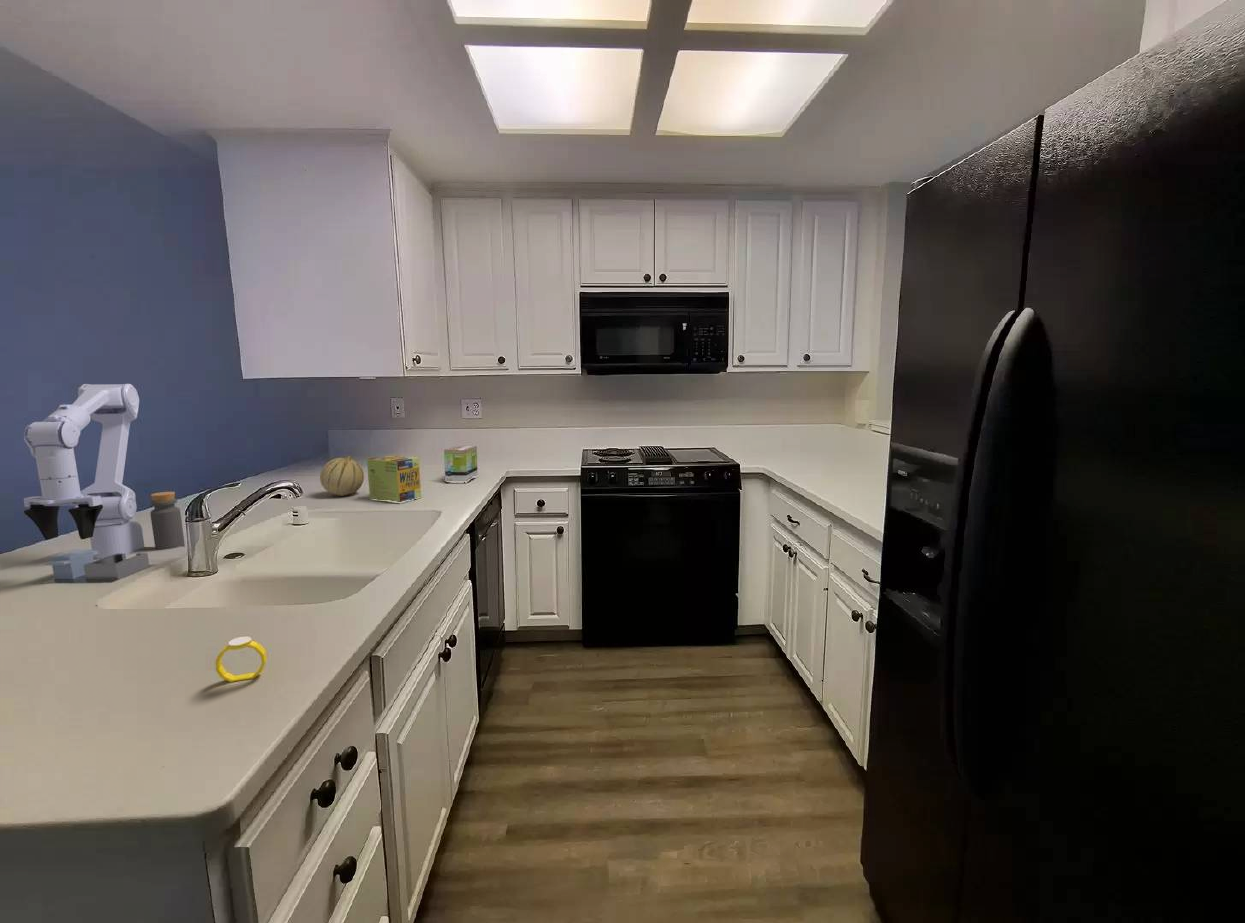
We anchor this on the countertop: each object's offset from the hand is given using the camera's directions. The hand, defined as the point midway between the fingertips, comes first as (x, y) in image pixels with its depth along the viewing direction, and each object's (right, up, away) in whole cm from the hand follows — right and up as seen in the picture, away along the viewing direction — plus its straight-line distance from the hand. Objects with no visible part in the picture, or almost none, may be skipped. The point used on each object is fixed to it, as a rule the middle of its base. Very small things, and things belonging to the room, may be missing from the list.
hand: (69, 538), depth 116 cm
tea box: (+51, +8, +117) cm, 127 cm away
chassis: (+5, -9, +2) cm, 11 cm away
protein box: (+37, +3, +80) cm, 88 cm away
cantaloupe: (+14, +4, +87) cm, 89 cm away
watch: (+66, -15, -38) cm, 78 cm away
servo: (0, -8, +1) cm, 8 cm away
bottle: (+4, -6, +22) cm, 23 cm away
